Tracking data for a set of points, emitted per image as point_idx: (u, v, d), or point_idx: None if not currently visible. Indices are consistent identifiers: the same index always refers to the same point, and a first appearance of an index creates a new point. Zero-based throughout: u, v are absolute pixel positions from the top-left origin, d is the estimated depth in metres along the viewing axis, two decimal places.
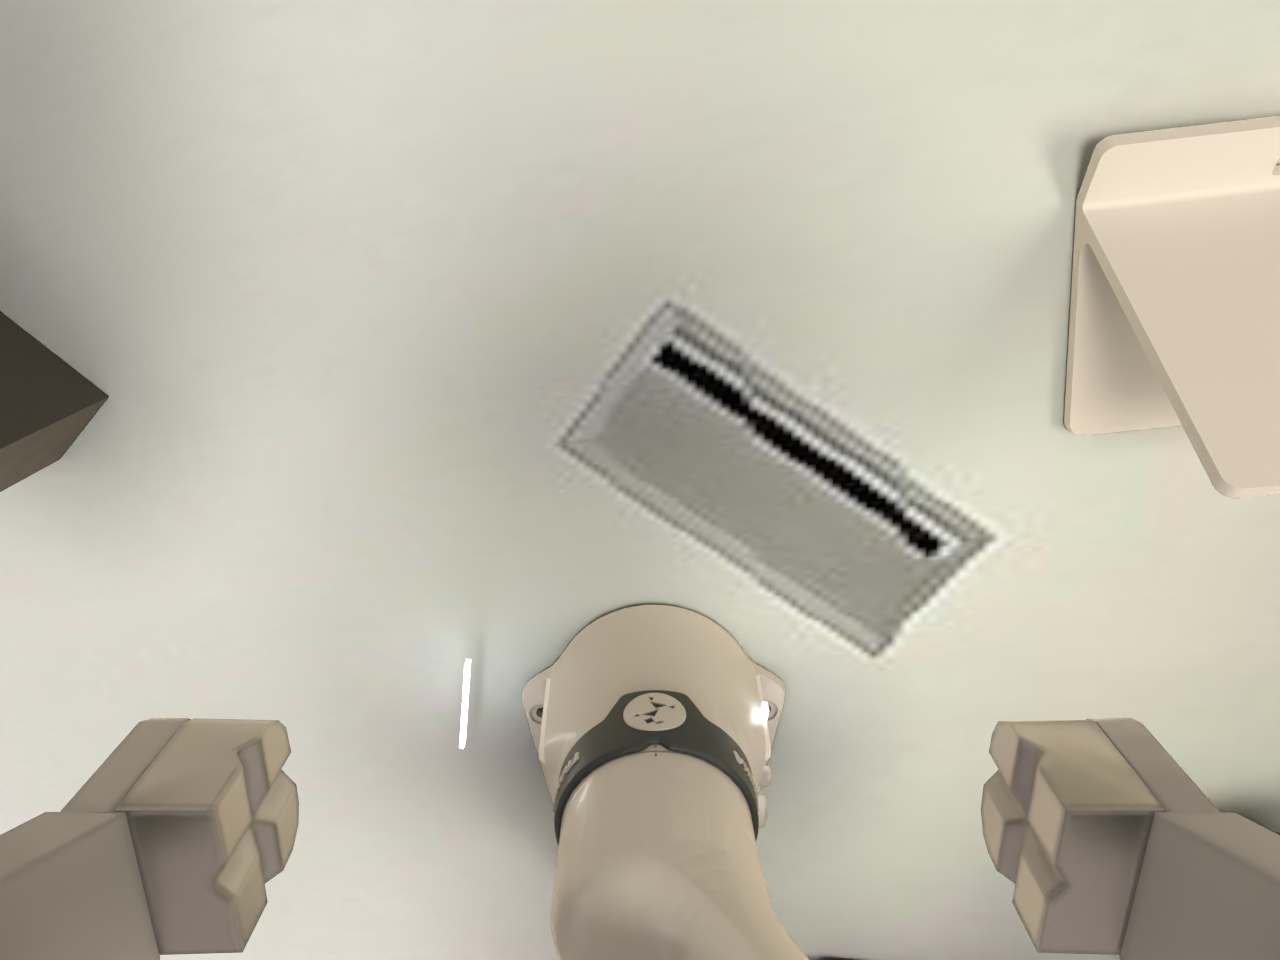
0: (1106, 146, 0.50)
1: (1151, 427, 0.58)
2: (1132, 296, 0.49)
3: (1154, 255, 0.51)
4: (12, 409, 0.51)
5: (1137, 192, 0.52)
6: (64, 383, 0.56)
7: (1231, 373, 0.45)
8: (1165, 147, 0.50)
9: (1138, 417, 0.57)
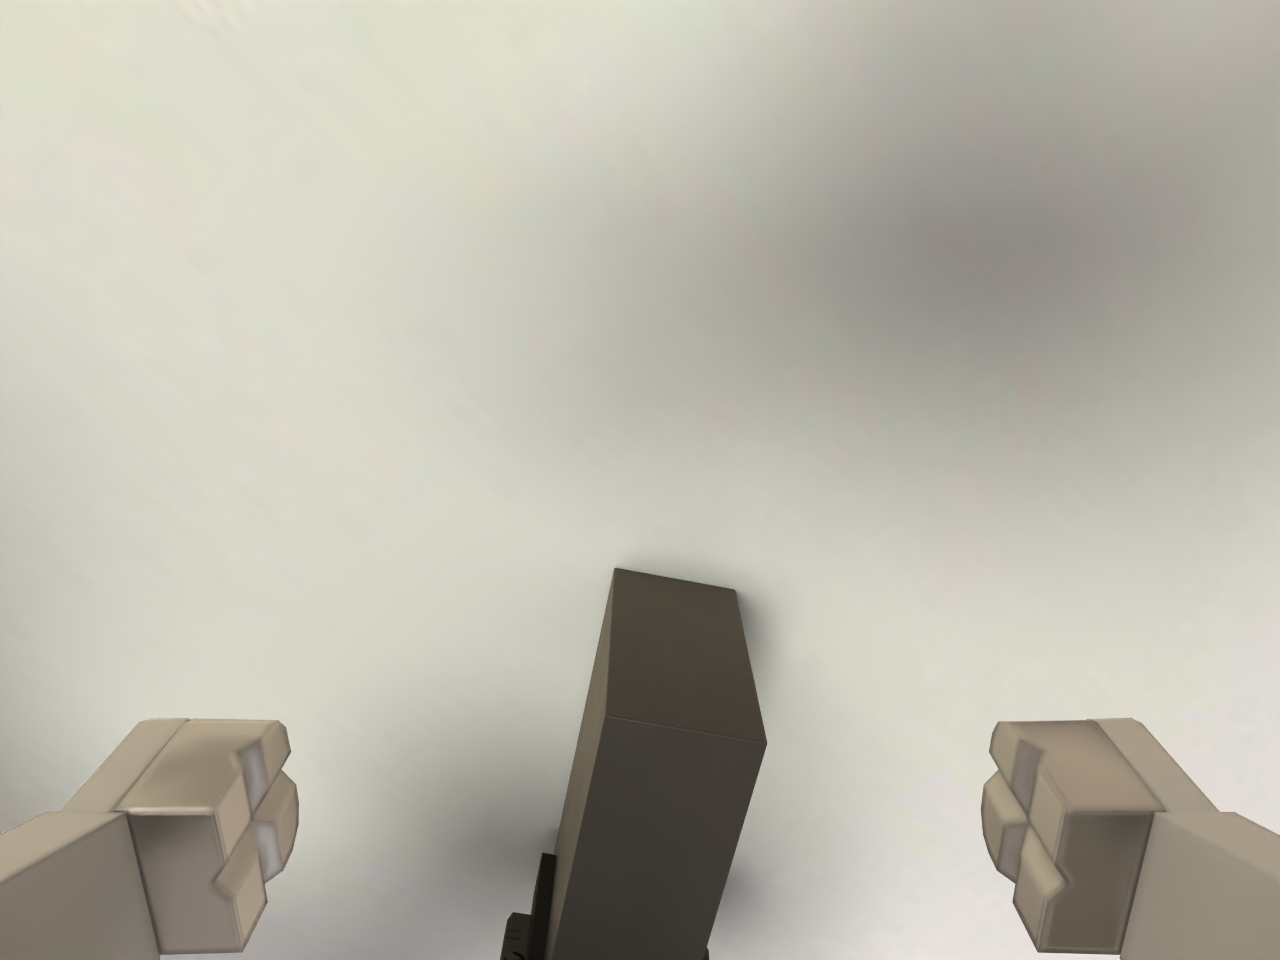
0: None
1: None
2: None
3: None
4: (601, 681, 0.37)
5: None
6: (605, 623, 0.42)
7: None
8: None
9: None
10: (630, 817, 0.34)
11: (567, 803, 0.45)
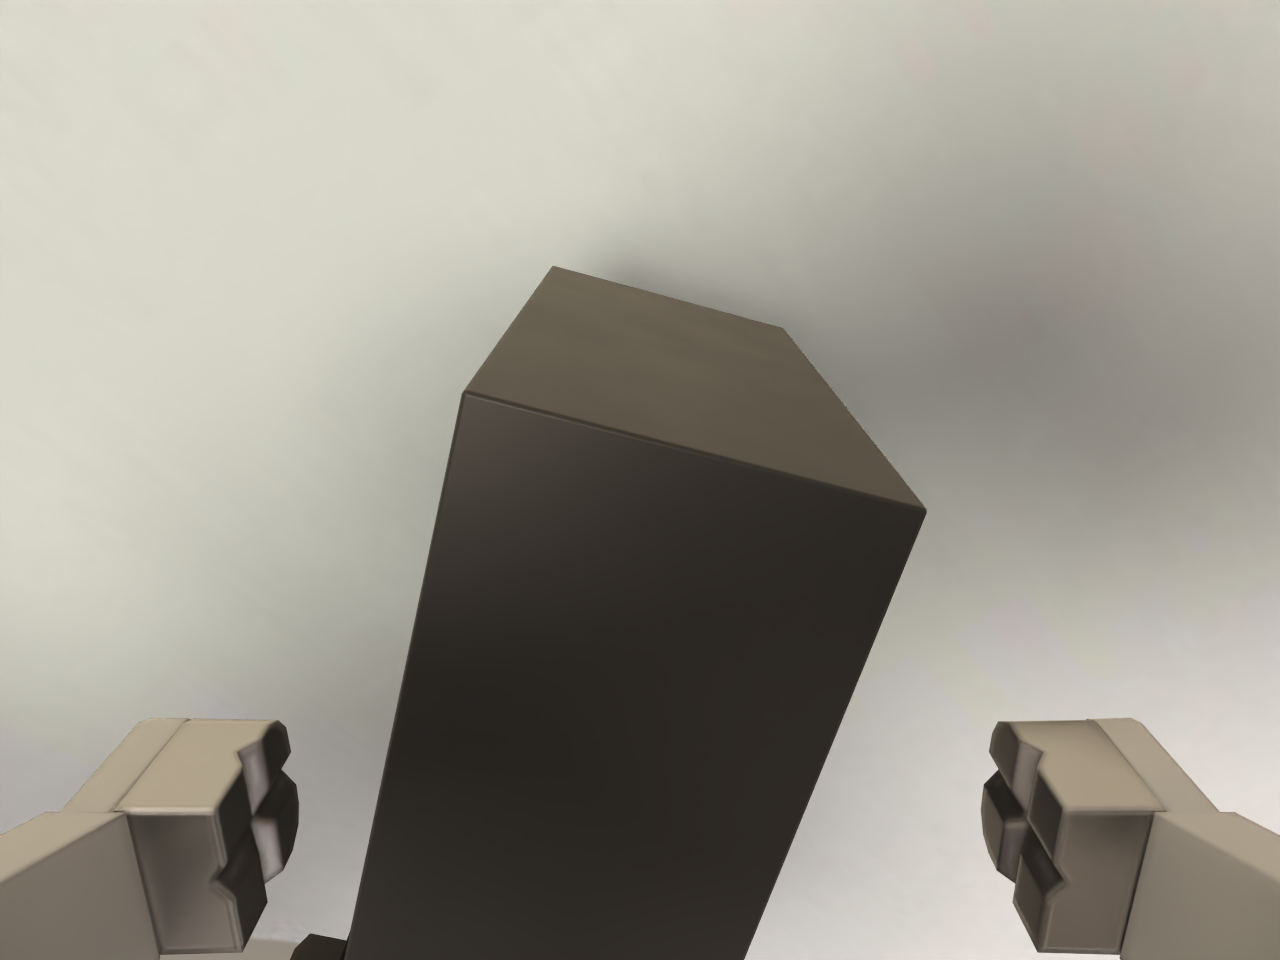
0: None
1: None
2: None
3: None
4: None
5: None
6: None
7: None
8: None
9: None
10: (528, 712, 0.12)
11: None
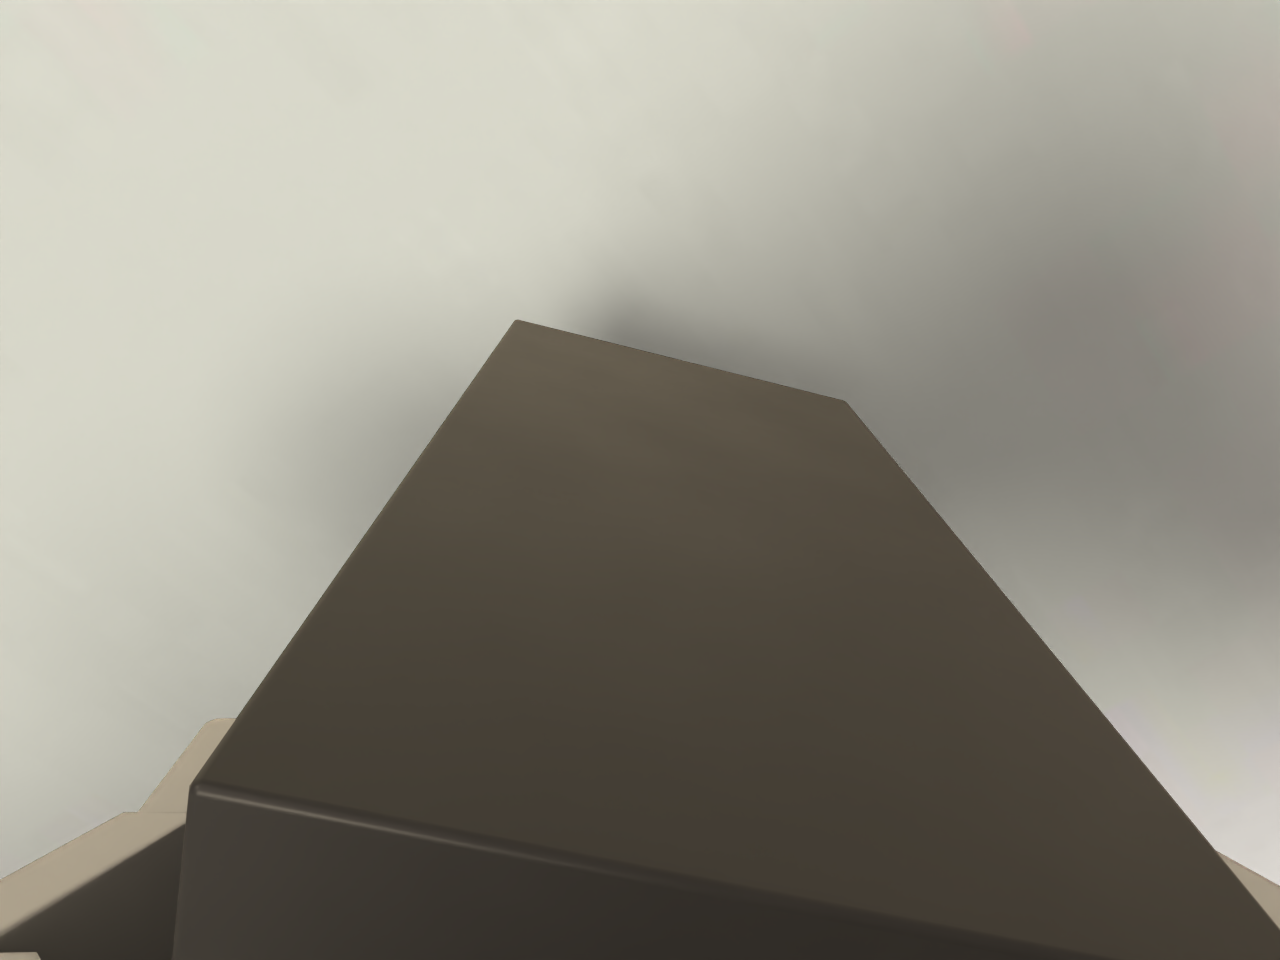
0: None
1: None
2: None
3: None
4: None
5: None
6: None
7: None
8: None
9: None
10: None
11: None
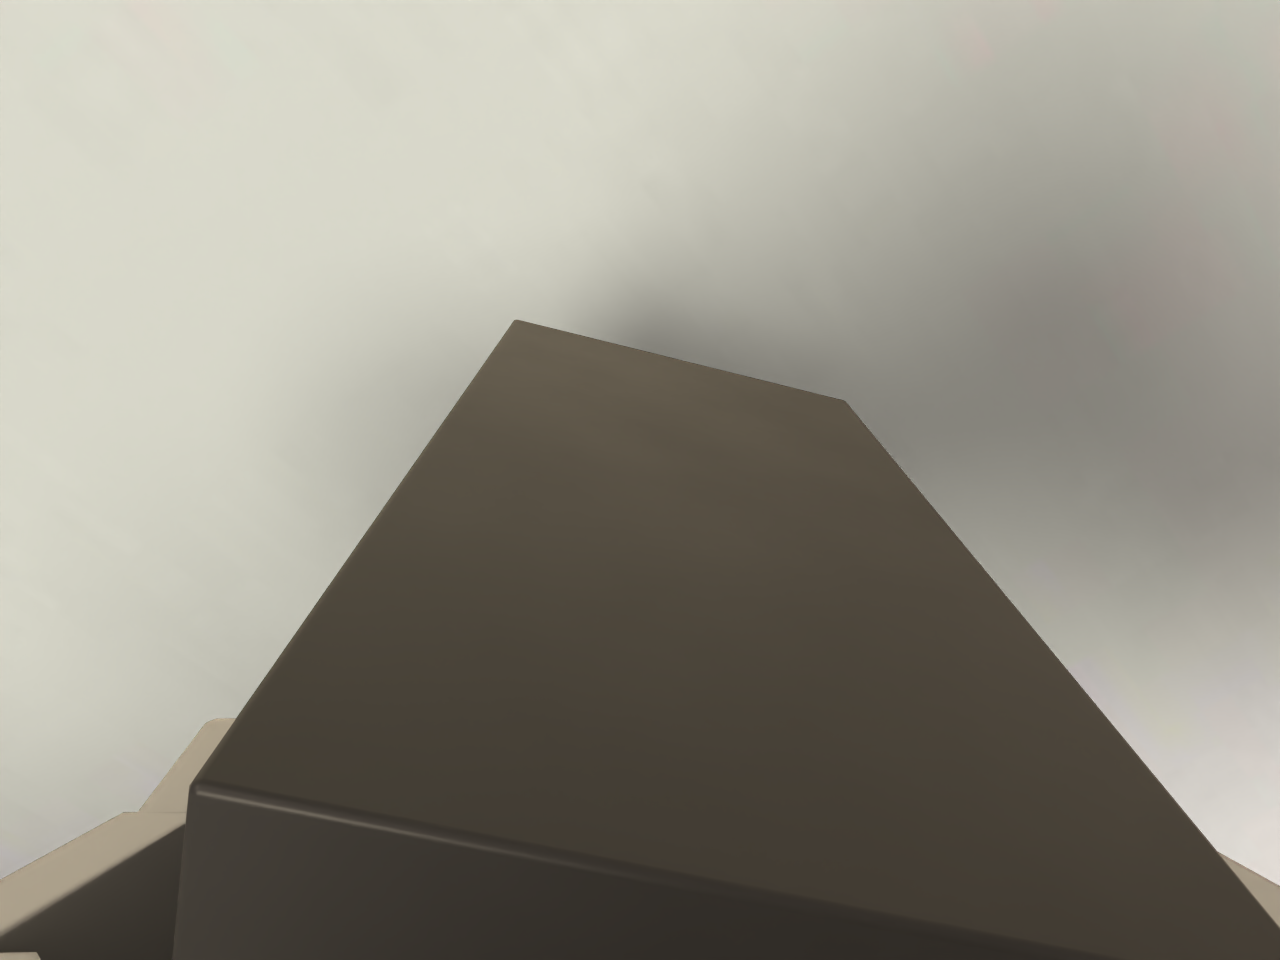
0: None
1: None
2: None
3: None
4: None
5: None
6: None
7: None
8: None
9: None
10: None
11: None
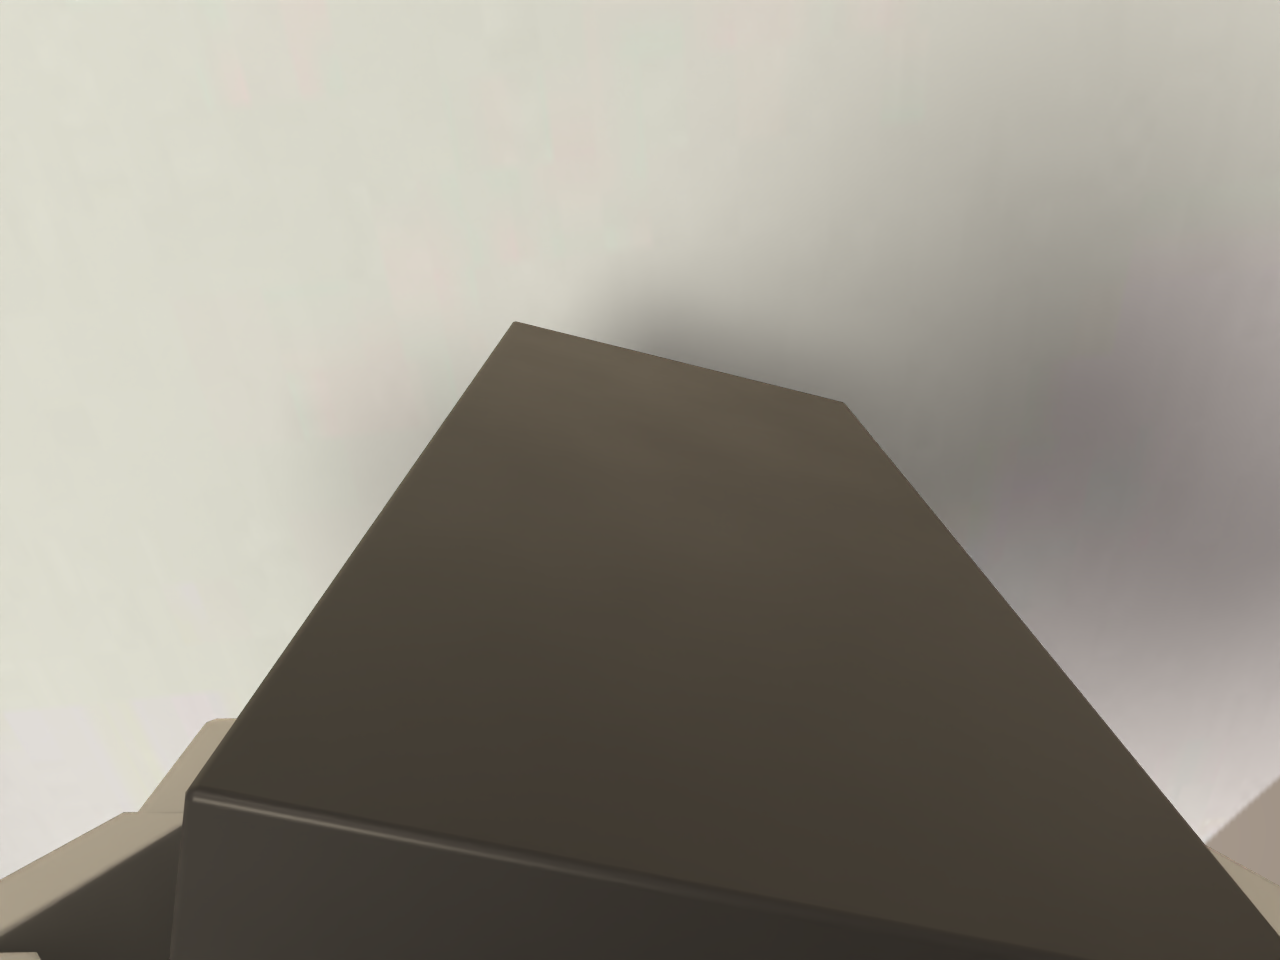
0: None
1: None
2: None
3: None
4: None
5: None
6: None
7: None
8: None
9: None
10: None
11: None
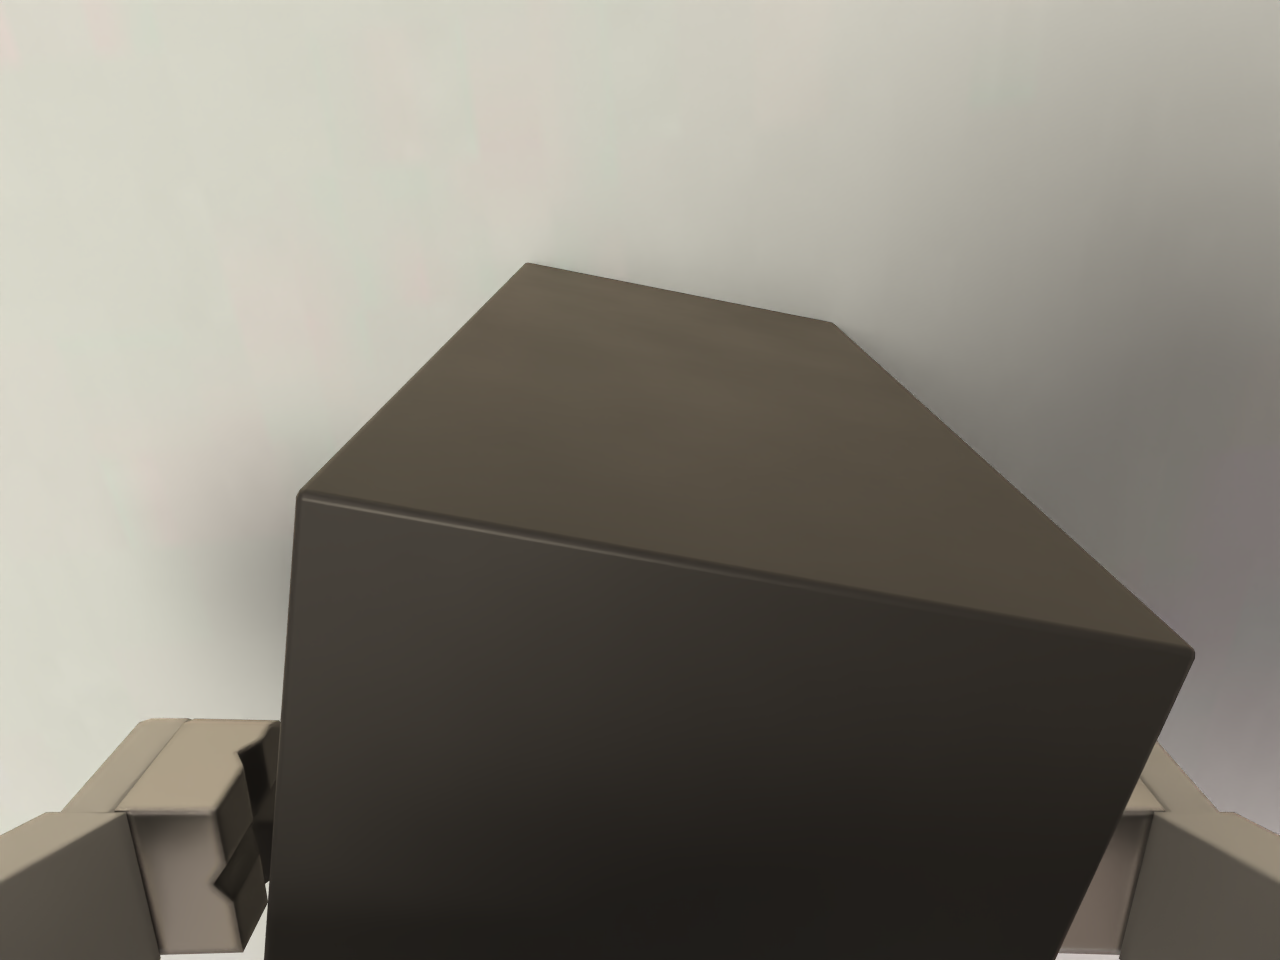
0: None
1: None
2: None
3: None
4: None
5: None
6: None
7: None
8: None
9: None
10: None
11: None
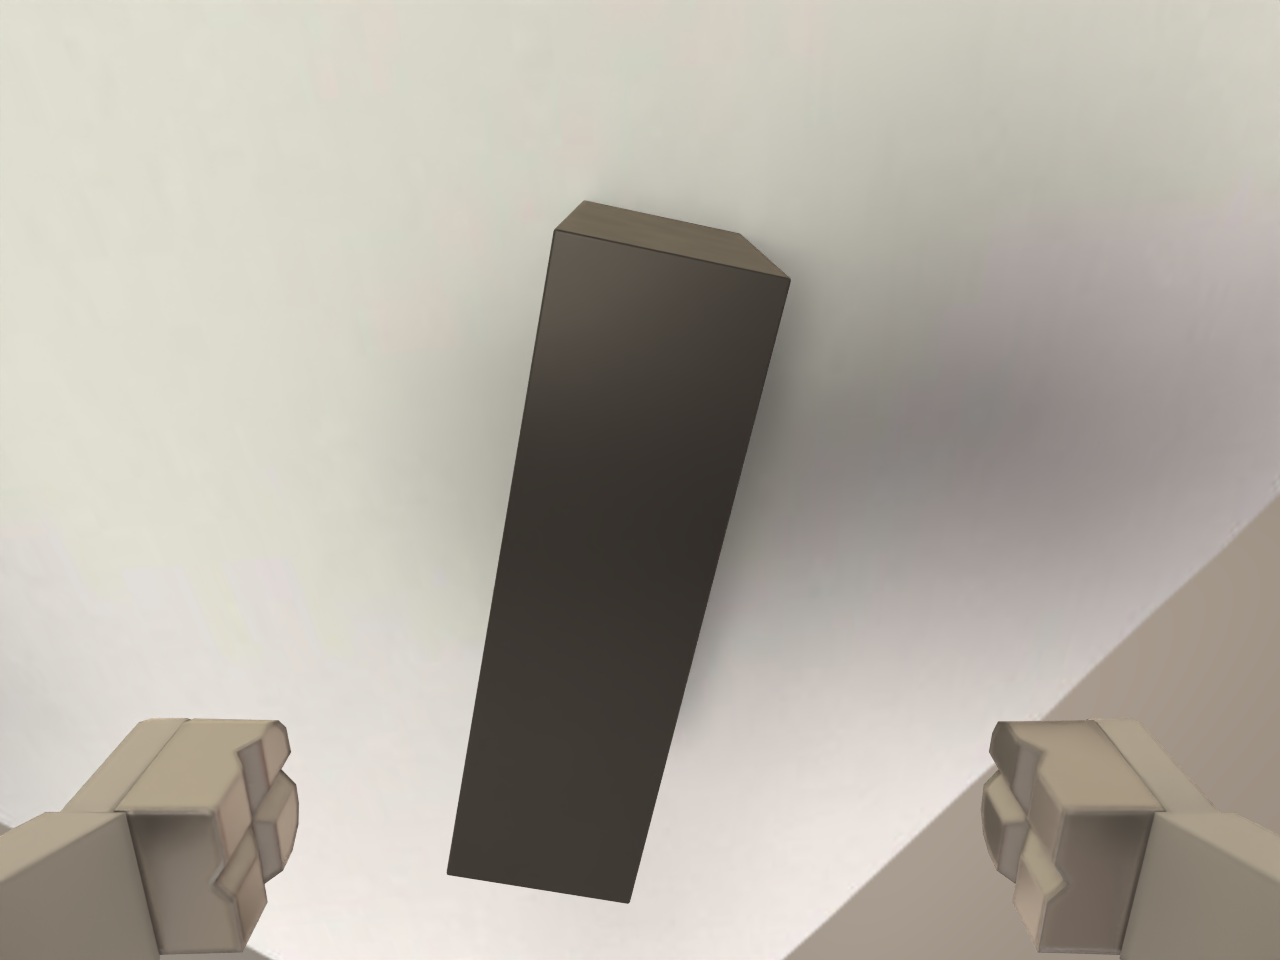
0: None
1: None
2: None
3: None
4: None
5: None
6: None
7: None
8: None
9: None
10: (593, 407, 0.24)
11: None
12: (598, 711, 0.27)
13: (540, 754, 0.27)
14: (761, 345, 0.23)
